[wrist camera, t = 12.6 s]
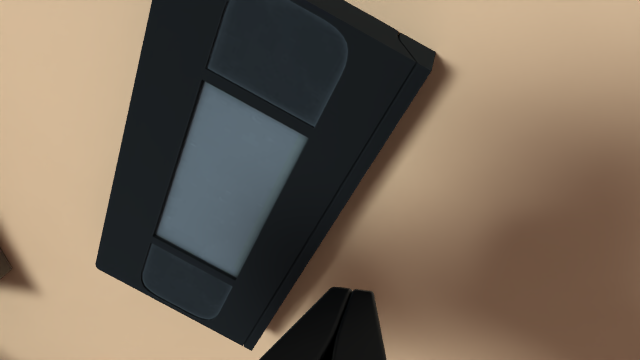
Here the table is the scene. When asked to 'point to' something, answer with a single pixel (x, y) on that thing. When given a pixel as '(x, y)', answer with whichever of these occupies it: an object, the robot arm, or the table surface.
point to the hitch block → (4, 265)
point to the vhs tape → (248, 148)
